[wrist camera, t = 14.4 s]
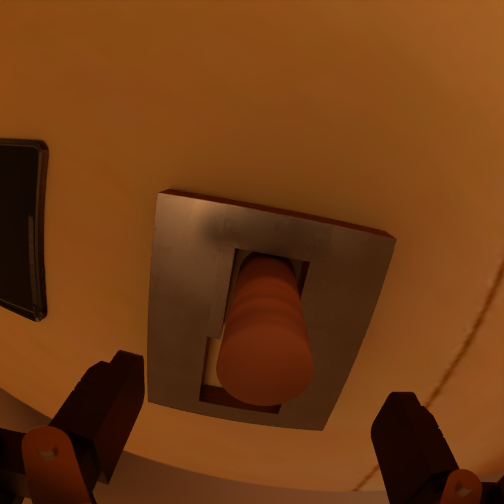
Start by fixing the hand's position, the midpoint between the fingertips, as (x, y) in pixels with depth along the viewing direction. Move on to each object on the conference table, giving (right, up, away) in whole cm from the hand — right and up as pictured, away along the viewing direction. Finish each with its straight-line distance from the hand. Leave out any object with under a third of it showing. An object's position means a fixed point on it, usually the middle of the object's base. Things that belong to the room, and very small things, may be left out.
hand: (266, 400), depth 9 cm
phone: (-20, +7, +12) cm, 24 cm away
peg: (+1, +3, +11) cm, 12 cm away
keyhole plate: (0, 0, +12) cm, 12 cm away
